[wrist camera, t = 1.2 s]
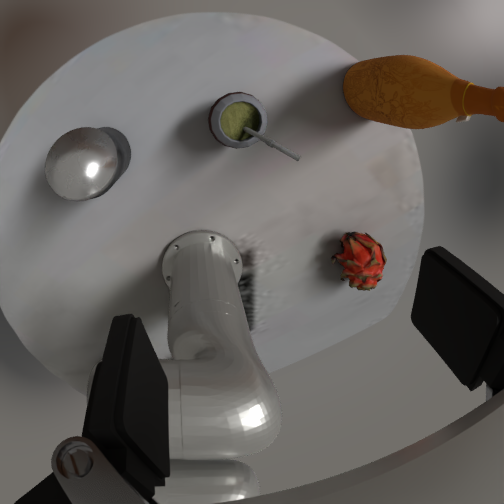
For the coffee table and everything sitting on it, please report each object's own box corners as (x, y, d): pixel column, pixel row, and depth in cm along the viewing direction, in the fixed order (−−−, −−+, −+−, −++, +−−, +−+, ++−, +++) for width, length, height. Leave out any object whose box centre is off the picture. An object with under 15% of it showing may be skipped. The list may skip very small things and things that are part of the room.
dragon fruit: (354, 275, 58) (330, 222, 54) (396, 267, 53) (375, 210, 49) (345, 306, 52) (318, 249, 48) (391, 299, 47) (369, 237, 43)
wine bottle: (353, 129, 43) (517, 186, 17) (328, 71, 39) (499, 62, 12) (400, 108, 43) (561, 149, 16) (379, 53, 38) (546, 49, 12)
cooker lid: (104, 208, 30) (103, 206, 29) (37, 192, 27) (34, 190, 26) (127, 139, 31) (127, 135, 31) (63, 126, 29) (61, 122, 28)
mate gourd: (203, 97, 38) (208, 94, 25) (261, 90, 39) (294, 85, 26) (211, 149, 41) (220, 172, 28) (267, 141, 42) (301, 161, 29)
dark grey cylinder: (124, 187, 41) (110, 205, 34) (74, 176, 39) (53, 191, 32) (137, 133, 38) (125, 140, 31) (85, 122, 36) (64, 127, 29)
